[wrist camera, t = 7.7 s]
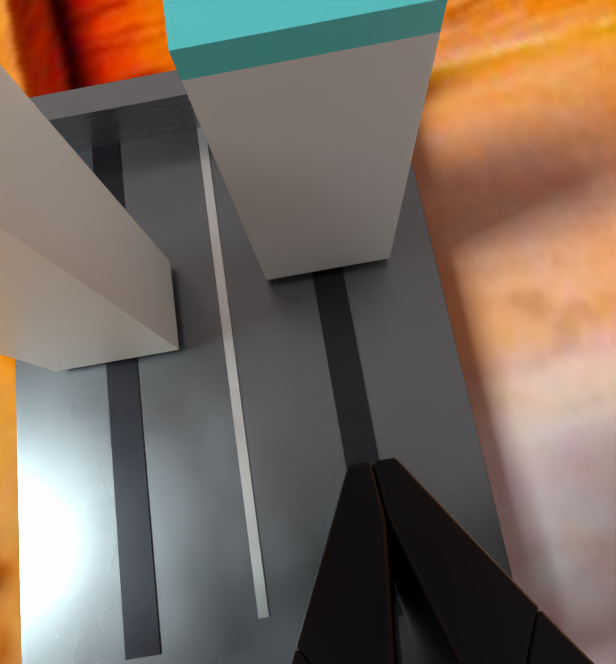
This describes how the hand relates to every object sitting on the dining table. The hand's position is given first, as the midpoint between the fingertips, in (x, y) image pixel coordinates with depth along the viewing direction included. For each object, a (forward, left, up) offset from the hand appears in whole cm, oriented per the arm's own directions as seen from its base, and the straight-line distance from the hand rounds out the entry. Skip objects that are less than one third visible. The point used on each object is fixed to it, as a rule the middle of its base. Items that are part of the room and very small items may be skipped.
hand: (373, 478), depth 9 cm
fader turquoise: (+5, -6, -6) cm, 10 cm away
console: (+5, -1, -8) cm, 9 cm away
